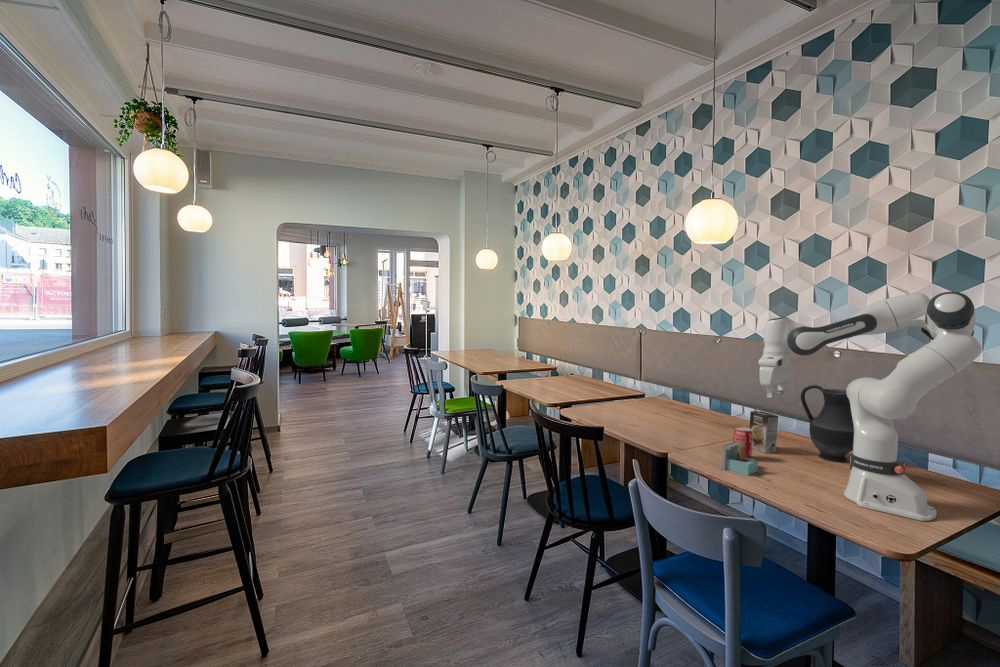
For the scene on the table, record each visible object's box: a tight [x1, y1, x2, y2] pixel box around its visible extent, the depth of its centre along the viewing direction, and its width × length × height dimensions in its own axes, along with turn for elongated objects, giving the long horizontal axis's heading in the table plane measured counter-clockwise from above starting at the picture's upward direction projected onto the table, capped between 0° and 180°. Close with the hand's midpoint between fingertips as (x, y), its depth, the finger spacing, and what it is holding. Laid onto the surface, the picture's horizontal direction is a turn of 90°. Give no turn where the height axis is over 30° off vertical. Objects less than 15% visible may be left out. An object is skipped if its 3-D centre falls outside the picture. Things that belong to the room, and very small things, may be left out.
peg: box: [737, 443, 746, 462], centre depth 176 cm, size 3×3×10 cm
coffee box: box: [749, 410, 779, 454], centre depth 203 cm, size 9×6×16 cm
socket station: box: [721, 441, 759, 476], centre depth 177 cm, size 9×10×9 cm
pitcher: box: [800, 384, 854, 463], centre depth 193 cm, size 17×21×30 cm
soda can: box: [732, 426, 753, 459], centre depth 192 cm, size 7×7×12 cm
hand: (775, 395), depth 178 cm, fingers open, 8 cm apart
